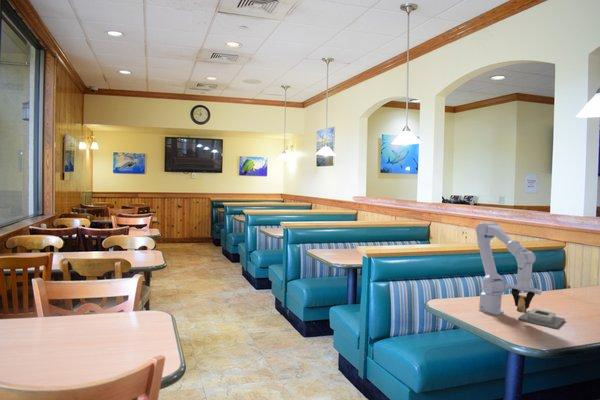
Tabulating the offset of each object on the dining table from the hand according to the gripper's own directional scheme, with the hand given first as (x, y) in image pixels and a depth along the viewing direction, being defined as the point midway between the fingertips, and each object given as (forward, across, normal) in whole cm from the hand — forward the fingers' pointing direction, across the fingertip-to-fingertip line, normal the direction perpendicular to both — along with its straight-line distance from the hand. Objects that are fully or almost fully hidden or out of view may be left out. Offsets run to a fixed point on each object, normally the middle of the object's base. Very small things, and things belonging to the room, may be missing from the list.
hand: (521, 306), depth 209 cm
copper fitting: (+2, 0, 0) cm, 2 cm away
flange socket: (+7, +6, +11) cm, 15 cm away
